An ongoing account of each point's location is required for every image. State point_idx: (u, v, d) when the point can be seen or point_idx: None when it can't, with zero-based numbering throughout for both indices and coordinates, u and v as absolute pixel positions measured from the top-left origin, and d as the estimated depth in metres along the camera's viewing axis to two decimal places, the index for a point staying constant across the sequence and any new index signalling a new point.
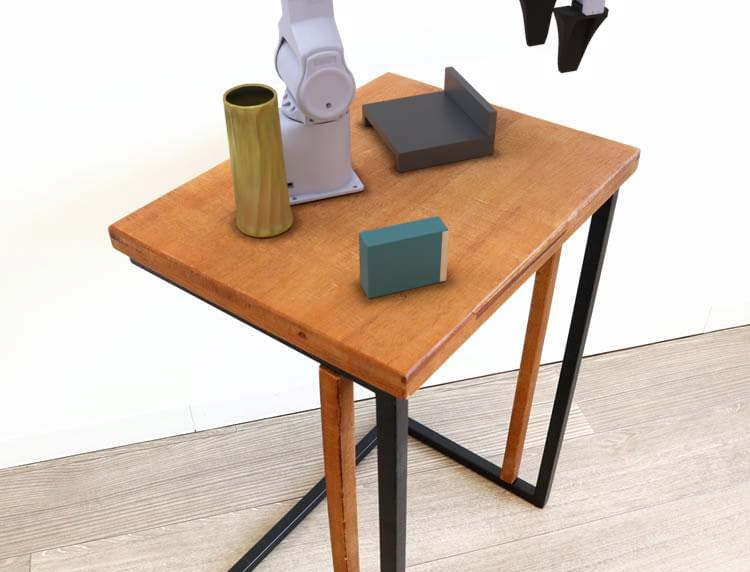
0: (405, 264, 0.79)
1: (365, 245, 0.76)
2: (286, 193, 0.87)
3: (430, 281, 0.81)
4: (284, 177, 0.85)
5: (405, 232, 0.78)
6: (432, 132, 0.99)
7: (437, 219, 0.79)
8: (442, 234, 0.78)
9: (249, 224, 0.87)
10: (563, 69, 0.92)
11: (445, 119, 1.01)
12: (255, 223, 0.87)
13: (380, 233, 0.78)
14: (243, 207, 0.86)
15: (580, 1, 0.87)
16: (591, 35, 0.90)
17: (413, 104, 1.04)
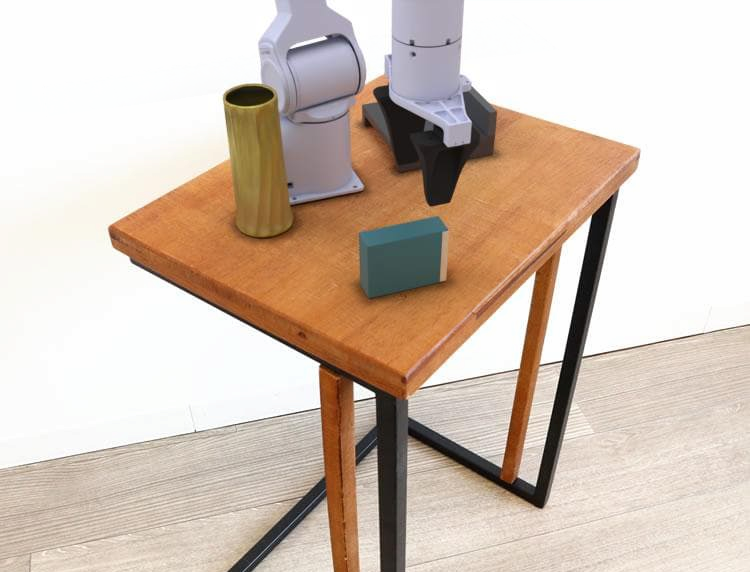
0: (405, 264, 0.79)
1: (365, 245, 0.76)
2: (286, 193, 0.87)
3: (430, 281, 0.81)
4: (284, 177, 0.85)
5: (405, 232, 0.78)
6: None
7: (437, 219, 0.79)
8: (442, 234, 0.78)
9: (249, 224, 0.87)
10: (432, 202, 0.74)
11: None
12: (255, 223, 0.87)
13: (380, 233, 0.78)
14: (243, 207, 0.86)
15: None
16: (462, 164, 0.71)
17: None
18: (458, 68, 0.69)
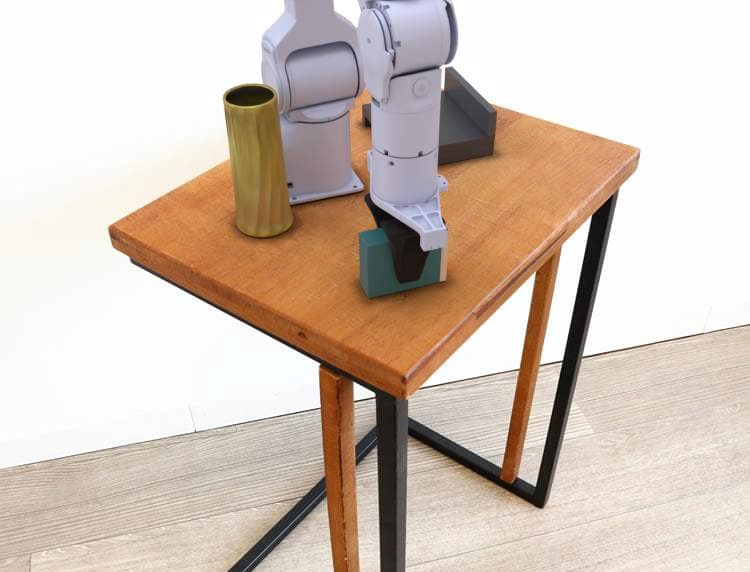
0: None
1: (365, 245, 0.77)
2: (286, 193, 0.87)
3: (430, 281, 0.81)
4: (284, 177, 0.85)
5: None
6: None
7: None
8: None
9: (249, 224, 0.87)
10: (402, 280, 0.79)
11: (445, 119, 1.01)
12: (255, 223, 0.87)
13: (380, 233, 0.78)
14: (243, 207, 0.86)
15: None
16: None
17: None
18: (435, 173, 0.72)
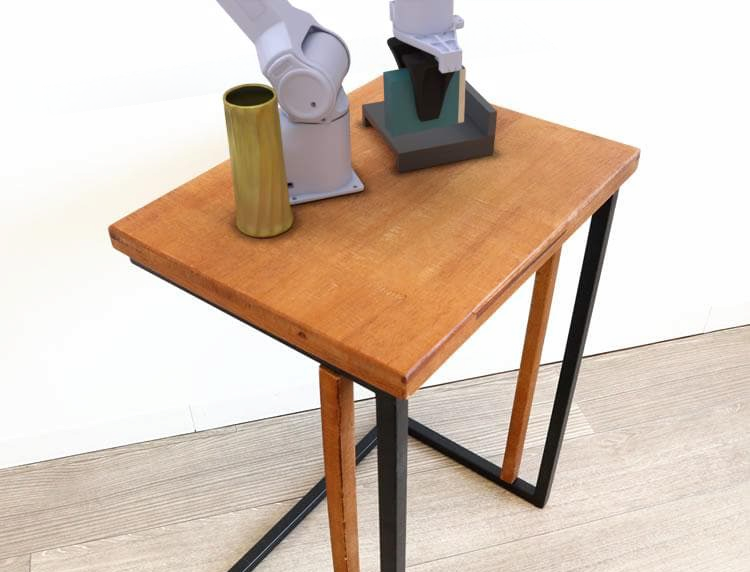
0: None
1: (389, 80, 0.84)
2: (286, 193, 0.87)
3: (449, 122, 0.89)
4: (284, 177, 0.85)
5: None
6: (432, 132, 0.99)
7: None
8: (459, 72, 0.85)
9: (249, 224, 0.87)
10: (422, 117, 0.87)
11: None
12: (255, 223, 0.87)
13: (402, 71, 0.85)
14: (243, 207, 0.86)
15: None
16: (447, 82, 0.84)
17: None
18: (451, 6, 0.80)
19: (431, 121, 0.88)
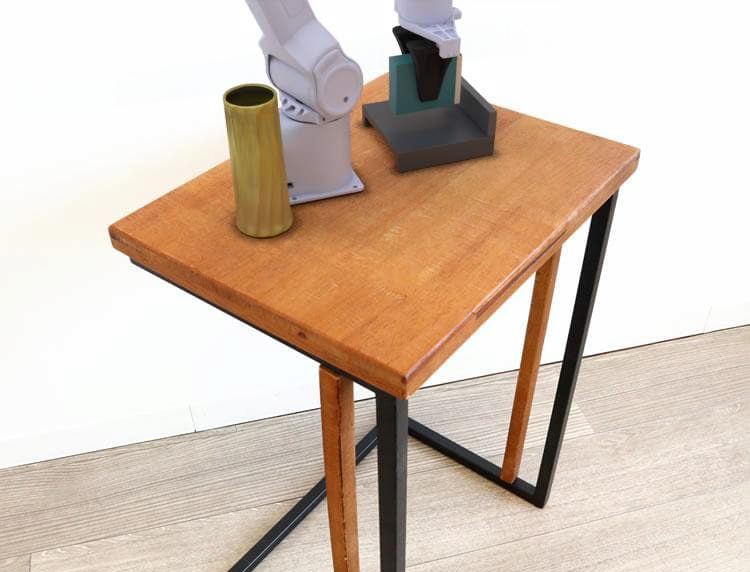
0: None
1: (394, 64, 0.94)
2: (286, 193, 0.87)
3: (446, 103, 0.99)
4: (284, 177, 0.85)
5: None
6: (432, 132, 0.99)
7: None
8: (457, 58, 0.96)
9: (249, 224, 0.87)
10: (423, 98, 0.97)
11: (445, 119, 1.01)
12: (255, 223, 0.87)
13: (406, 56, 0.95)
14: (243, 207, 0.86)
15: None
16: (445, 67, 0.94)
17: None
18: None
19: (430, 102, 0.98)
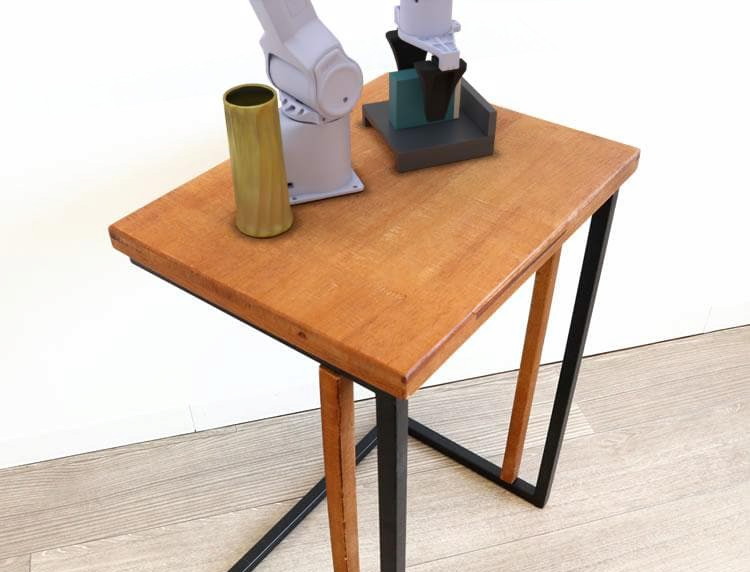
0: None
1: (394, 80, 0.96)
2: (286, 193, 0.87)
3: (445, 117, 1.00)
4: (284, 177, 0.85)
5: None
6: (432, 132, 0.99)
7: None
8: None
9: (249, 224, 0.87)
10: (430, 118, 0.96)
11: None
12: (255, 223, 0.87)
13: (406, 72, 0.97)
14: (243, 207, 0.86)
15: None
16: (453, 87, 0.94)
17: None
18: (450, 12, 0.91)
19: None
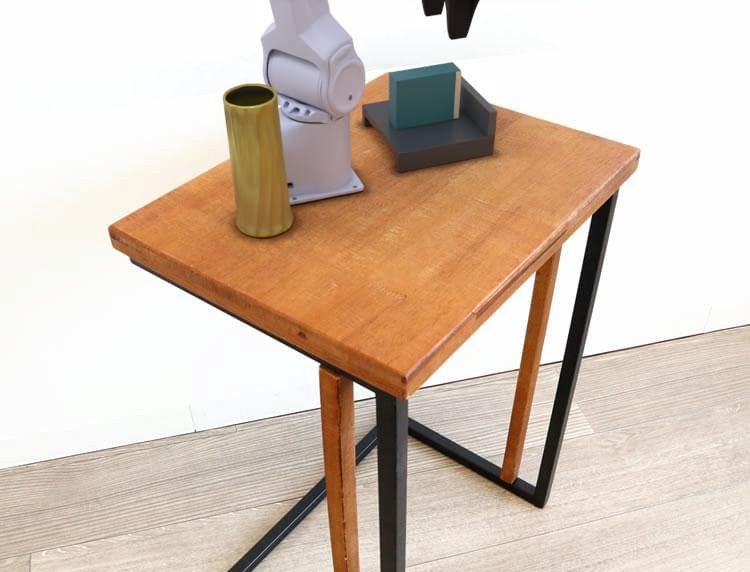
0: (426, 100, 0.98)
1: (394, 80, 0.96)
2: (286, 193, 0.87)
3: (445, 117, 1.00)
4: (284, 177, 0.85)
5: (426, 72, 0.97)
6: (432, 132, 0.99)
7: (451, 64, 0.98)
8: (456, 74, 0.97)
9: (249, 224, 0.87)
10: (452, 36, 0.98)
11: None
12: (255, 223, 0.87)
13: (406, 72, 0.97)
14: (243, 207, 0.86)
15: None
16: (476, 3, 0.96)
17: None
18: None
19: (430, 116, 1.00)
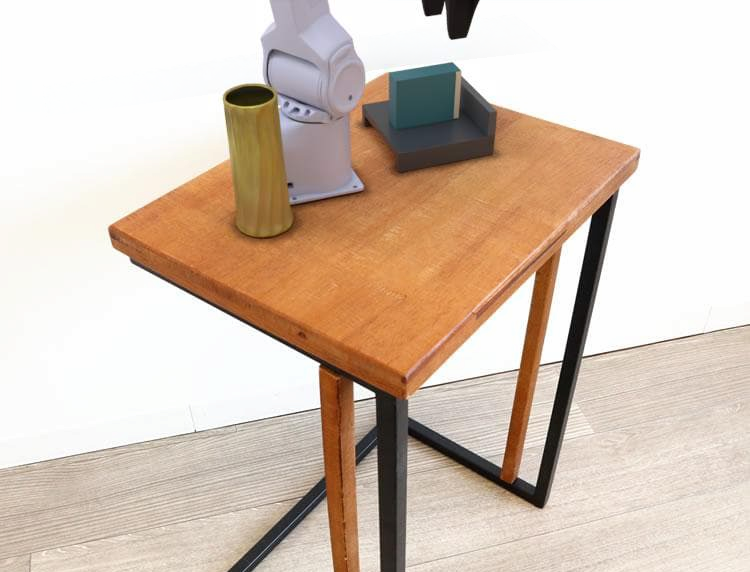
0: (426, 100, 0.98)
1: (394, 80, 0.96)
2: (286, 193, 0.87)
3: (445, 117, 1.00)
4: (284, 177, 0.85)
5: (426, 72, 0.97)
6: (432, 132, 0.99)
7: (451, 64, 0.98)
8: (456, 74, 0.97)
9: (249, 224, 0.87)
10: (452, 36, 0.98)
11: None
12: (255, 223, 0.87)
13: (406, 72, 0.97)
14: (243, 207, 0.86)
15: None
16: (476, 3, 0.96)
17: None
18: None
19: (430, 116, 1.00)
